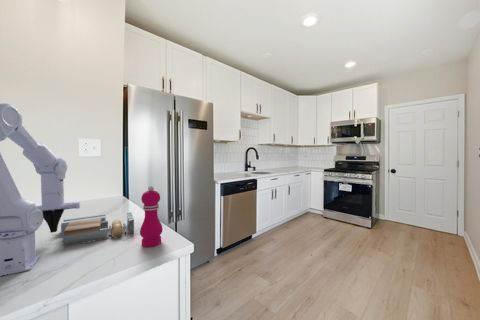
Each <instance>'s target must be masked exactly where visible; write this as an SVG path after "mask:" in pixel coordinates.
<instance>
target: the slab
mask: <svg viewBox="0 0 480 320" xmlns="http://www.w3.org/2000/svg"><path fill="white" fill-rule="evenodd" d="M100 227H101V218H95V219H88V220H81V221H74V222H69V224H68V225H67V227H66V229H65V230H64V236H68V235H74V234H80V233H86V232H92V231H98V230H100Z"/></svg>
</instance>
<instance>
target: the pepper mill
mask: <svg viewBox="0 0 480 320" xmlns="http://www.w3.org/2000/svg"><path fill="white" fill-rule="evenodd" d="M147 189H148V190H147V191H145V192H143V193H142V195H141V199H140V200H141V202H142V204H143V205H142V206H143V211H144V219H143V222H142V224H141V225H140V226H141V227H140V229H139V235H140V237H141V238H142V239H141V246H142V247H144V248H152V247H156V246H158V245H160V244H161V243H162V236H161V235H162V233H163V225H162V222H161V221H160V219H159V216H158V209H159V208H160V205H159V202H160V201H161V194H160V193H159V192H158V191H157V190H154V186H152V185H150V186H148V188H147Z"/></svg>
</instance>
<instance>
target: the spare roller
mask: <svg viewBox="0 0 480 320" xmlns="http://www.w3.org/2000/svg"><path fill="white" fill-rule="evenodd" d="M123 233H124V228H123V223H122V221H121V220H119V219H115V220H113V221H112V222H111V237H113V238H115V237H118V238H121V237H122V236H123V235H124V234H123ZM120 236H121V237H120ZM115 239H116V238H115Z"/></svg>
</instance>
